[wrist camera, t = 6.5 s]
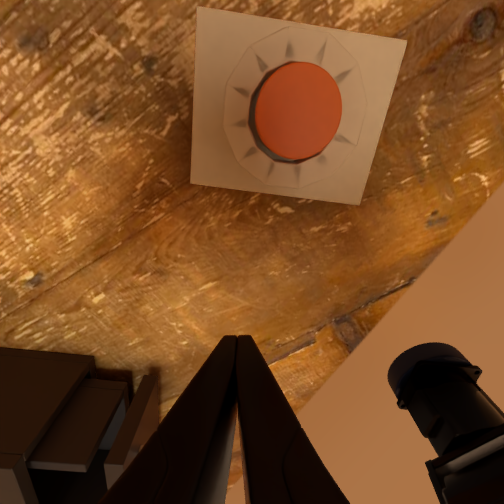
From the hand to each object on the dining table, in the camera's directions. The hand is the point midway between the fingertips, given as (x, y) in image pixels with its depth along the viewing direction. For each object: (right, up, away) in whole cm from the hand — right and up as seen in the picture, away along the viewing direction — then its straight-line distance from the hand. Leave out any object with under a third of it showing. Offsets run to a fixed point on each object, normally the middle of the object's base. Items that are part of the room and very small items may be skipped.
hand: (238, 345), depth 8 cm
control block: (+2, +11, +8) cm, 13 cm away
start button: (+2, +9, +4) cm, 11 cm away
